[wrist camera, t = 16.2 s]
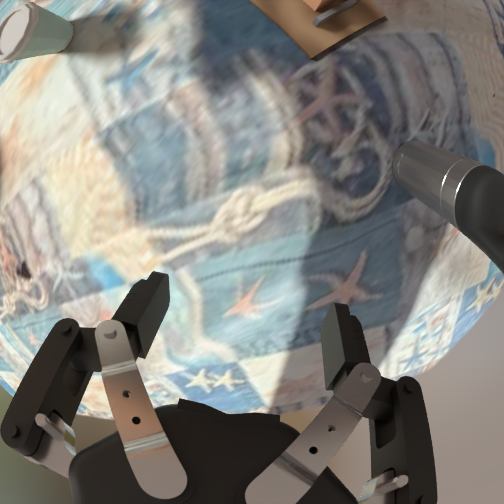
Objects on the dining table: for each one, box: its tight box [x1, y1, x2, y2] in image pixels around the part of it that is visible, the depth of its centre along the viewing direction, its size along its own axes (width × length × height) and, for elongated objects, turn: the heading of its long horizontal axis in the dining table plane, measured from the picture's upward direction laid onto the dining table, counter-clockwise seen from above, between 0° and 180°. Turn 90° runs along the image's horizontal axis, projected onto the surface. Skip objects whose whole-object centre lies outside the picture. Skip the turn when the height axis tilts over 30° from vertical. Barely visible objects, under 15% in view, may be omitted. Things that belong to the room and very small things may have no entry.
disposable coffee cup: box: [0, 2, 74, 64], centre depth 20 cm, size 11×11×15 cm
